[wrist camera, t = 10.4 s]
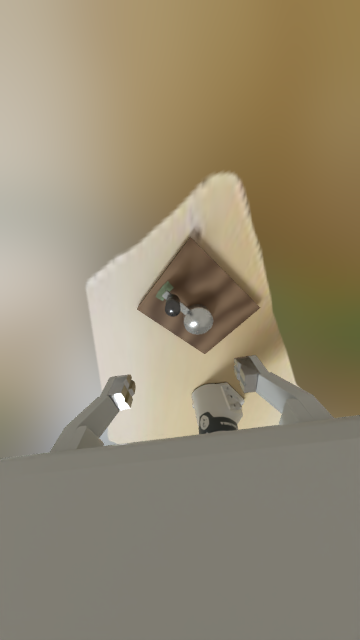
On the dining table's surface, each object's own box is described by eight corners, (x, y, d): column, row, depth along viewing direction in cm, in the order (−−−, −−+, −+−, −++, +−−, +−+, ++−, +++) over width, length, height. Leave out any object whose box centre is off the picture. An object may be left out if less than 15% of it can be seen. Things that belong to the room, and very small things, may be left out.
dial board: (257, 305, 36) (260, 308, 35) (203, 350, 43) (204, 354, 42) (189, 237, 28) (190, 237, 27) (138, 306, 35) (136, 309, 34)
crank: (216, 315, 35) (224, 330, 29) (196, 332, 38) (201, 350, 31) (174, 278, 30) (174, 287, 24) (155, 301, 33) (151, 314, 26)
